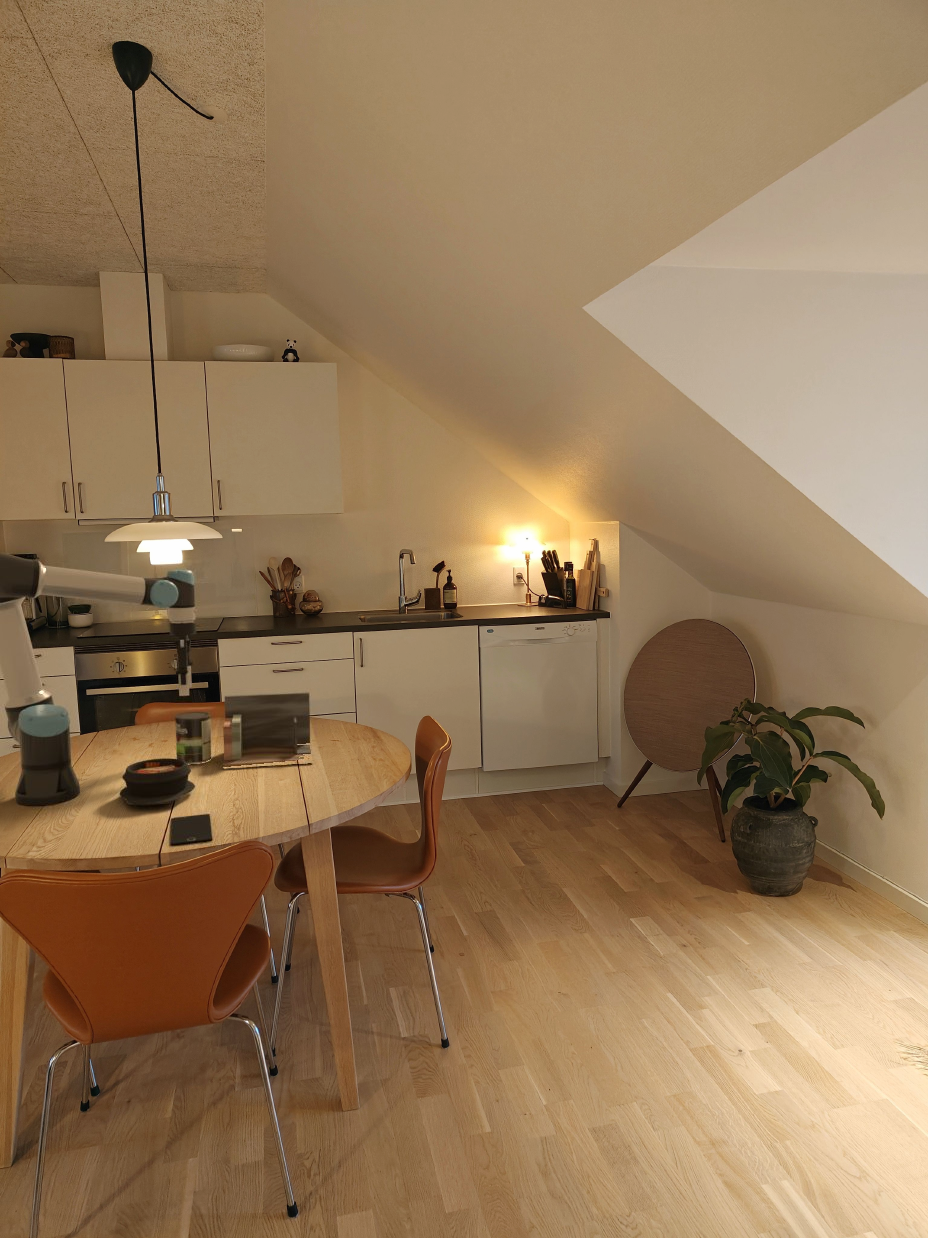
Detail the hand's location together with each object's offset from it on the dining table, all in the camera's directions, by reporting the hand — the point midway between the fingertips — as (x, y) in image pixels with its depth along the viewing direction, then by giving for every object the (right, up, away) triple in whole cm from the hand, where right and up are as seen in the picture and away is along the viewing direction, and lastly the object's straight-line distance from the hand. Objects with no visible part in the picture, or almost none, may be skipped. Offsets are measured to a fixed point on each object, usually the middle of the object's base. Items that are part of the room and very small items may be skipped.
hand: (185, 691), depth 249 cm
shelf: (+24, -21, +4) cm, 32 cm away
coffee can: (+2, -21, +2) cm, 22 cm away
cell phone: (+21, -28, -57) cm, 67 cm away
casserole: (+4, -25, -33) cm, 41 cm away
